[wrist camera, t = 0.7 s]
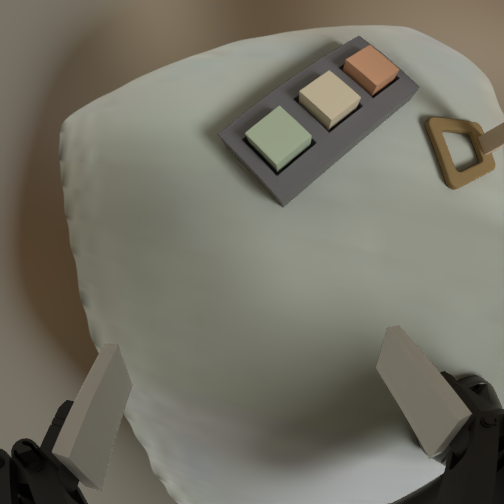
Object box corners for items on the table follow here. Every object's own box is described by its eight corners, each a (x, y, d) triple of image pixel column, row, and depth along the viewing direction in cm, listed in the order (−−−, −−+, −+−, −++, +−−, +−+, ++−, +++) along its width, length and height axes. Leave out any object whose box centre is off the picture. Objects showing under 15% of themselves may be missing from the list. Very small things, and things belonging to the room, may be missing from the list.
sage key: (310, 145, 30) (311, 135, 27) (277, 172, 31) (276, 164, 28) (280, 117, 31) (279, 105, 28) (248, 142, 31) (244, 132, 28)
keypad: (354, 51, 32) (359, 35, 28) (409, 100, 31) (419, 87, 27) (225, 145, 35) (218, 134, 31) (283, 207, 34) (282, 202, 30)
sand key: (356, 108, 29) (361, 97, 26) (328, 130, 30) (331, 120, 27) (327, 83, 30) (329, 70, 27) (299, 103, 30) (299, 91, 27)
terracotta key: (393, 81, 29) (399, 69, 26) (371, 97, 29) (376, 85, 26) (365, 57, 29) (369, 44, 26) (342, 72, 29) (345, 59, 26)
